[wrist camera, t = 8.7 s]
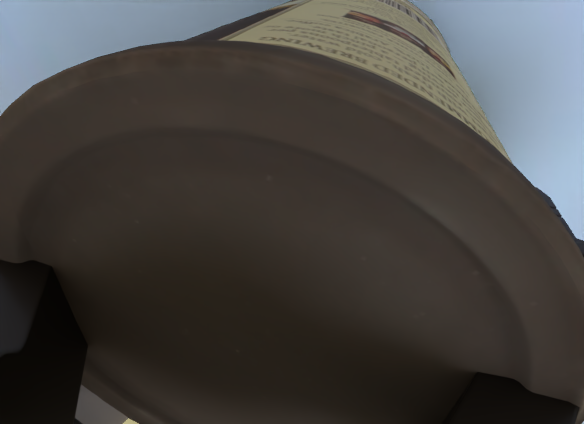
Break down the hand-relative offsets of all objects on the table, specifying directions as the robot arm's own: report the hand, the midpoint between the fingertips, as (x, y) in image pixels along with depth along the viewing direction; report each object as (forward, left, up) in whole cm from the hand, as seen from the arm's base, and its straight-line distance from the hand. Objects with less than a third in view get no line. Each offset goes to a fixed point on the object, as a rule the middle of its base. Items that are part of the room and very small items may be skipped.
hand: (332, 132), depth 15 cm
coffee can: (0, 0, -3) cm, 3 cm away
